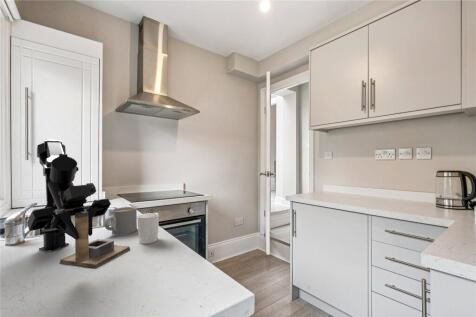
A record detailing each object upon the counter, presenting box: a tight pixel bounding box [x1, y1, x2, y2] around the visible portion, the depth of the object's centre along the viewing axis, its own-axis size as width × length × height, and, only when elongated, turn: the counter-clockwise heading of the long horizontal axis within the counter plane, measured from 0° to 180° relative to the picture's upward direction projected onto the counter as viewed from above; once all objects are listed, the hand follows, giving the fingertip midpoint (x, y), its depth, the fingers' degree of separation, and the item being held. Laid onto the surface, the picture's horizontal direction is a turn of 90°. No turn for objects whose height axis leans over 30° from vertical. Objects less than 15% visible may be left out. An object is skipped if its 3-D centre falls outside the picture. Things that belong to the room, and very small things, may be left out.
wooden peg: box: [74, 211, 90, 263], centre depth 61 cm, size 3×3×13 cm
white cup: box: [137, 212, 160, 245], centre depth 88 cm, size 8×8×10 cm
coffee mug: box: [103, 206, 138, 236], centre depth 99 cm, size 13×10×10 cm
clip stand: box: [59, 238, 131, 269], centre depth 75 cm, size 14×14×4 cm
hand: (84, 236), depth 61 cm, fingers closed on wooden peg, 3 cm apart
